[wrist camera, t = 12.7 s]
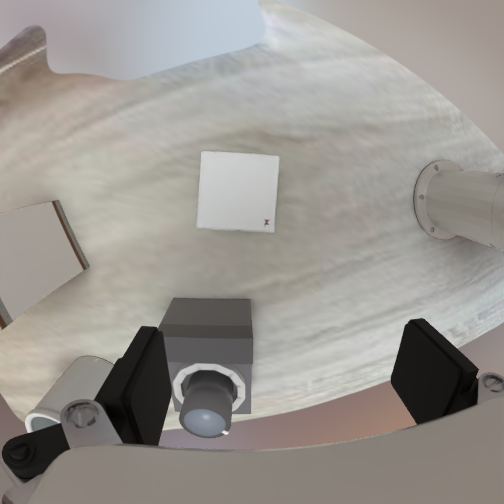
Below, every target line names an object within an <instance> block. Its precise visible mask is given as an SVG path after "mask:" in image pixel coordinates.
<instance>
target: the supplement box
mask: <svg viewBox="0 0 504 504" xmlns="http://www.w3.org/2000/svg"><path fill="white" fill-rule="evenodd" d="M279 159H280V157H279V156H276V155H268V154H257V153H243V152H224V151H202V152H201V163H200V175H199V187H198V199H197V213H196V228H198V229H213V230H229V231H247V232H261V233H275V224H276V209H277V194H278V176H279Z"/></svg>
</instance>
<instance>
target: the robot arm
mask: <svg viewBox="0 0 504 504" xmlns="http://www.w3.org/2000/svg"><path fill="white" fill-rule="evenodd" d="M414 206H415V211H416V215H417V218H418V221H419V223H420V225H421V226H422V228H423V229H424V230H425V231H426V232H427V233H428V234H429V235H431V236H433V237H435V238H438V239H442V240H447V239H451V238H453V237H455V236H457V235H459V236H461V237H464V238H467V239H470V240H473V241H475V242H478V243H481V244H483V245H486V246H489V247H491V248H494V249H496V250H499V251H501V252H504V174H499V173H487V172H473V171H464V170H463V169H462V168H461V167H460V166H459V165H457V164H456V163H454V162H452V161H449V160H438V161H435V162H432V163H431V164H429V165H428V166H427V167H426V168H425V169H424V170H423V171H422V173H421V175H420V176H419V179H418V181H417V184H416V188H415V195H414ZM478 370H479V369H478V368H477V367H476V366H475V365H474V364H473V363H472V362H471V361H470V360H469V359H468V358H467V357H465V356H464V355H463V354H462V353H461V352H460V351H459V350H458V349H457V348H456V347H455V346H454V345H453V344H451V343H450V342H449V341H448V340H447V339H446V338H445V337H444V336H443V335H442V334H440V333H439V332H438V331H437V330H436V329H435V328H434V327H433V326H431V325H430V324H429V323H428V322H427V321H426V320H425V319H423V318H420V319H412V320H410V321H409V322H408V324H406V325H405V327H404V331H403V336H402V339H401V343H400V347H399V351H398V355H397V358H396V362H395V365H394V368H393V372H392V375H391V384H392V386H393V388H394V389H395V391H396V392H397V394H398V395H399V397H400V398H401V400H402V401H403V403H404V405H405V406H406V407H407V409H408V411H409V412H410V414H411V416H412V417H413V419H414V420H415V422H416V423H417V425H415V426H411V427H408V428H404V429H400V430H395V431H391V432H387V433H383V434H379V435H374V436H369V437H364V438H358V439H353V440H347V441H341V442H334V443H327V444H319V445H311V446H302V447H290V448H278V449H277V448H276V449H252V450H220V449H194V448H178V447H164V446H158V443H159V439H160V436H161V432H162V429H163V425H164V421H165V417H166V414H167V410H168V407H169V403H170V399H171V395H172V386H171V381H170V375H169V369H168V363H167V357H166V350H165V343H164V336H163V332H162V331H158V328H157V327H150V326H141V328H140V329H139V331H138V332H137V334H136V336H135V337H134V339H133V341H132V342H131V344H130V346H129V347H128V349H127V351H126V352H125V354H124V356H123V357H122V358H119V359H118V360H117V361H116V363H115V364H114V366H113V368H112V370H111V371H110V373H109V375H108V376H107V378H106V380H105V381H104V383H103V385H102V386H101V388H100V390H99V392H98V393H97V395H96V397H95V399H94V400H90V399H79V400H75V401H72V402H70V403H68V404H67V405H66V406H65V407H64V408H63V409H62V410H61V413H60V421H61V423H58V424H55V425H52V426H49V427H46V428H43V429H40V430H37V431H34V432H30V433H27V434H24V435H20V436H17V437H14V438H13V439H10V440H9V441H8V442H6V444H5V445H4V447H3V450H2V457H1V458H0V504H504V377H503V376H501V375H499V374H496V373H491V372H488V373H484V374H482V375H481V376H480V377H479V379H477V378H476V375H477V373H478Z"/></svg>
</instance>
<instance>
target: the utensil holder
mask: <svg viewBox="0 0 504 504" xmlns="http://www.w3.org/2000/svg"><path fill="white" fill-rule="evenodd" d="M113 366H114V365H113V364H111V363H109V362H108V361H105V360H103V359H100V358H97V357H93V356H84V357H80V358H78V359H77V360H75V361H74V362H73V363H72V365H71V366H70V367H69V368H68V369H67V370H66V371H65V372H64V373H63V375H62V376H61V377H60V378H59V379H58V380H57V382H56V383H55V384H54V385H53V386H52V388H51V389H50V390H49V391H48V393H47V394H46V395H45V396H44V397H43V399H42V400H41V401H40V402H39V403H38V405H37V406H36V407H35V409H33V410H31V411H30V412H29V414H28V415H27V417H26V420H25V425H26V429H27V431H28V433H30V432H34V431H37V430H40V429H43V428H46V427H49V426H52V425H55V424H58V423H61V421H60V413H61V410H62V409H63V408H64V407H65V406H66V405H67V404H68V403H70V402H72V401H75V400H79V399H90V400H94V399H95V397H96V395H97V393H98V392H99V390H100V388H101V386H102V385H103V383H104V381H105V380H106V378H107V376H108V375H109V373H110V371H111V370H112V368H113Z"/></svg>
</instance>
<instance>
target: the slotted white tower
mask: <svg viewBox="0 0 504 504" xmlns="http://www.w3.org/2000/svg"><path fill="white" fill-rule="evenodd" d="M88 267H90V266H89V264H88V262H87V260H86V258H85V256H84V254H83V252H82V250H81V248H80V246H79V244H78V242H77V240H76V238H75V236H74V234H73V232H72V229H71V227H70V225H69V223H68V221H67V218H66V216H65V214H64V211H63V209H62V207H61V204H60V202H59V200H56V201H51V202H46V203H42V204H37V205H32V206H27V207H23V208H19V209H14V210H10V211H6V212H2V213H0V331H1V330H3V329H4V328H5V327H7V326H8V325H9V324H10V323H12V322H13V321H14V320H15V319H17V318H18V317H19V316H21V315H22V314H23V313H25V312H26V311H27V310H29V309H30V308H31V307H33V306H34V305H35V304H37V303H38V302H39V301H41V300H42V299H44V298H45V297H46V296H48V295H49V294H50V293H52V292H53V291H55V290H56V289H57V288H59V287H60V286H62V285H63V284H65V283H66V282H67V281H69V280H70V279H72V278H73V277H75V276H76V275H78V274H79V273H81V272H82V271H84V270H85V269H87V268H88Z"/></svg>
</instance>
